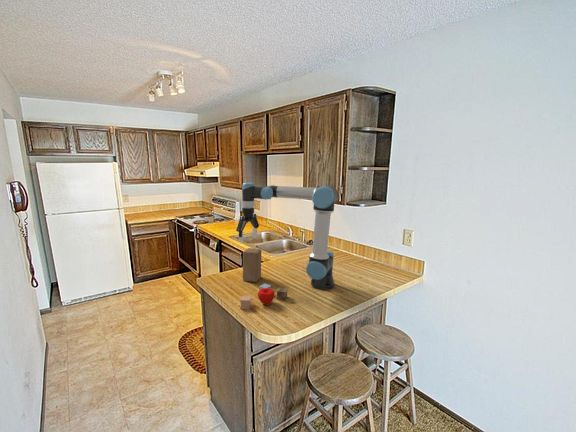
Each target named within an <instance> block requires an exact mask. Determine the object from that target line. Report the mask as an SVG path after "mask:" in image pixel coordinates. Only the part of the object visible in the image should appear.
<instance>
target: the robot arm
mask: <svg viewBox="0 0 576 432" xmlns="http://www.w3.org/2000/svg"><path fill="white" fill-rule="evenodd" d="M241 192H242V193H241V194H242V199H241V201H242V203H241V204H242V205H241V206H242V207H241V208H242V211H241V213H242V214H243V215H240V216H239V220H238V223H237V227H236V230H235V231H236V232H238V239H239V240H238V242H239V243H244V229H245V228H246V226H247V225H246V224H248V223H249V222H250V224H251V226H252V238H254V239H257V236H258V235H257V233H258V228H259V226H260V224H259V221H258V218H257V214H256V213H255V199H259V200H271V199H272V198H279V199H296V200H307V201H308V200H310V201H311V200H312V204H313V207H312V208H313V211H314V212H315V215H314V217H315V218H314V230H313V238H312V251H311V252H310V253H309V258H308V263H307V265H306V267H305V270H306V271H305V272H306V274H307V275H308V277H309V278H311V280H310V286H311V287H312V288H315V290H321V291H322V290H323V291H327V290H332V289H333V287H334V288H335V281H334V280H335V279H334V276H333V270H334V269H333V268H334V258H335V257H334V252H333V251H331V250H328V248H329V247H328V246H329V245H328V244H329V238H330V237H329V236H330V235H329V234H330V223H331V214H332V213H334V211H335V203H336V202H337V200H338V198H339V192H338V190H337V188H336V187H335V186H333V185H322V186H321V185H320V186H319V185H317V186H316V187H307V186H304V187H303V186H284V185H279V186H278V185H274V184H273V185H267V186H256V185H255V183H254V182H244V183H242V188H241Z"/></svg>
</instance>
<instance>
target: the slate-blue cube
mask: <svg viewBox="0 0 576 432" xmlns="http://www.w3.org/2000/svg"><path fill="white" fill-rule="evenodd" d="M262 288H270V289H272V285H271V284H268V283H262V284H261V285H259V289H258V291H259V290H260V289H262Z"/></svg>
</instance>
